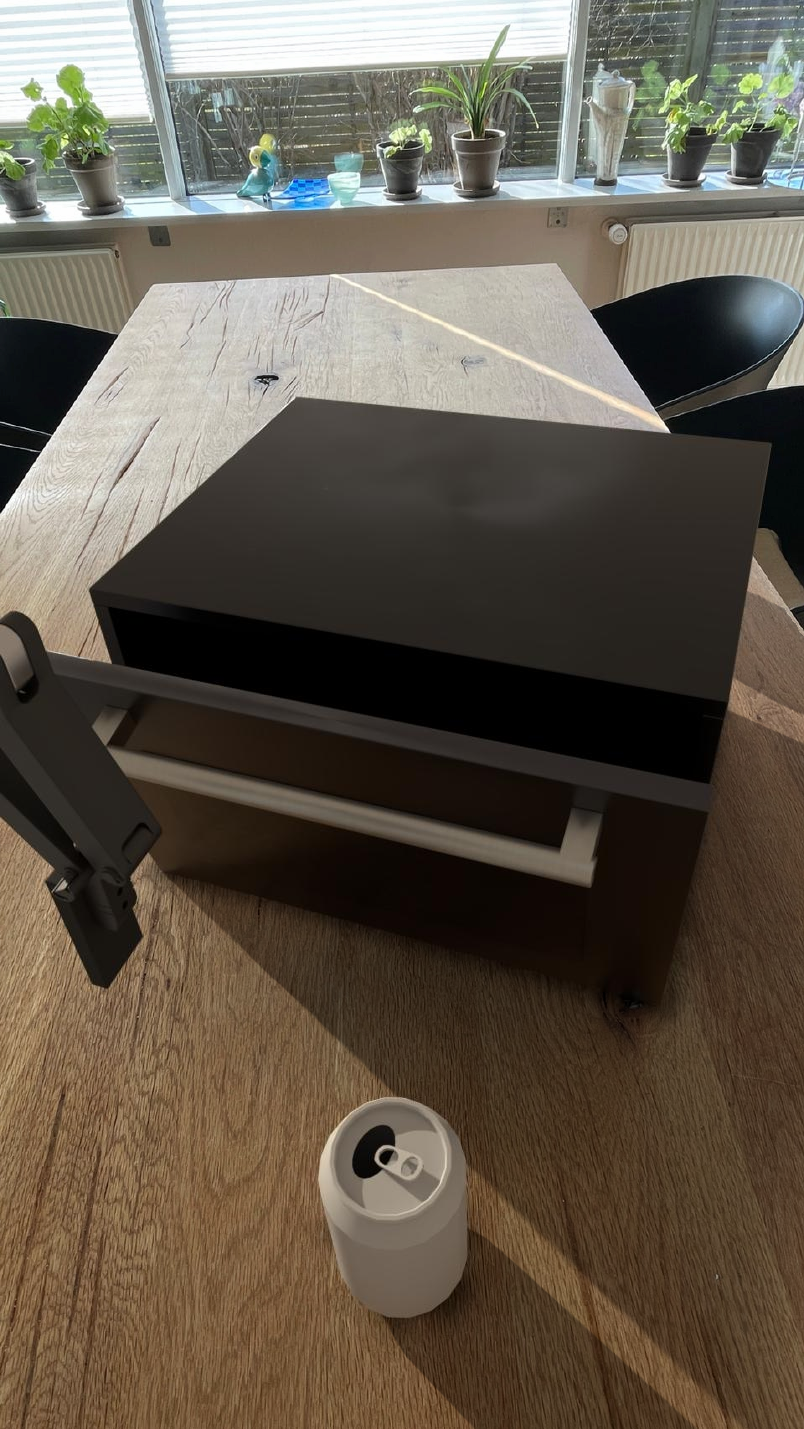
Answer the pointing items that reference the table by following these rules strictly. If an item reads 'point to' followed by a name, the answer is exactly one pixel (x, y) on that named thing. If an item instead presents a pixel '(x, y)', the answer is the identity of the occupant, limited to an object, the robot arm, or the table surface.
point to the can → (396, 1205)
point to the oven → (461, 578)
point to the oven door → (408, 825)
